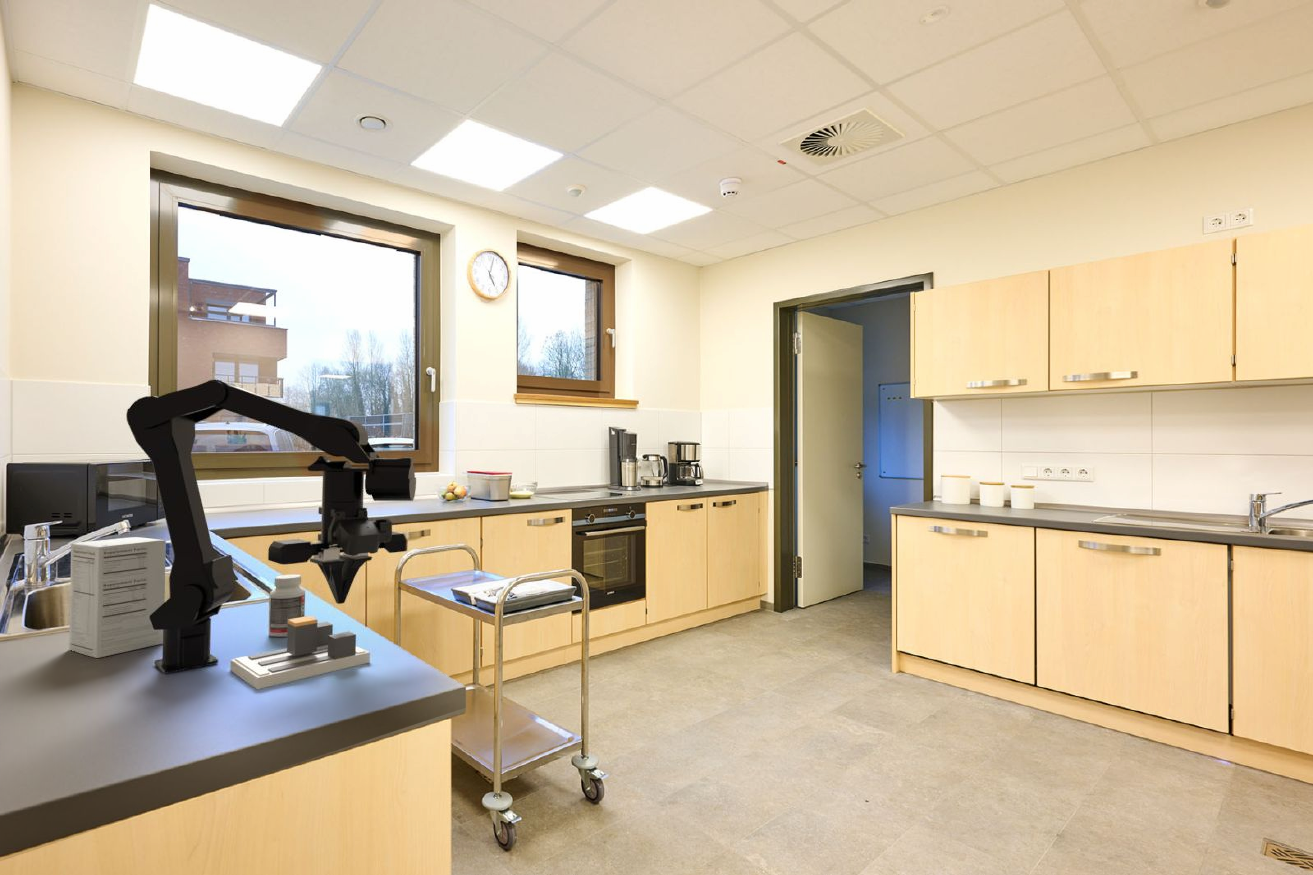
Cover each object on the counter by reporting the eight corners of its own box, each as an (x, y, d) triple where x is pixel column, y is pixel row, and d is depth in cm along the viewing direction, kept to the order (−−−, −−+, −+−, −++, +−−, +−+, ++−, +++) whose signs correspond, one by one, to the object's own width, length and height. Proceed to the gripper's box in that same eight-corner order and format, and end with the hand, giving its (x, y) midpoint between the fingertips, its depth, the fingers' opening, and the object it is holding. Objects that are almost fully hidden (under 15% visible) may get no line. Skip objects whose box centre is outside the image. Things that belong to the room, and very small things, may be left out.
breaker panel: (230, 670, 93) (231, 638, 93) (337, 647, 105) (338, 619, 105) (257, 689, 86) (258, 654, 86) (369, 662, 97) (370, 632, 97)
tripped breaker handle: (286, 651, 95) (287, 619, 95) (308, 647, 97) (309, 615, 98) (294, 656, 93) (295, 623, 93) (316, 651, 95) (317, 619, 96)
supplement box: (166, 643, 105) (168, 539, 106) (96, 659, 97) (99, 546, 98) (135, 635, 110) (138, 535, 110) (66, 650, 102) (69, 541, 102)
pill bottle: (309, 633, 112) (310, 576, 113) (274, 639, 108) (276, 580, 109) (297, 627, 116) (298, 572, 116) (263, 633, 112) (265, 576, 112)
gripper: (298, 507, 88) (295, 624, 87) (426, 501, 102) (424, 601, 101) (268, 502, 95) (265, 610, 95) (391, 497, 109) (389, 591, 109)
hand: (340, 603), depth 100 cm, fingers closed
